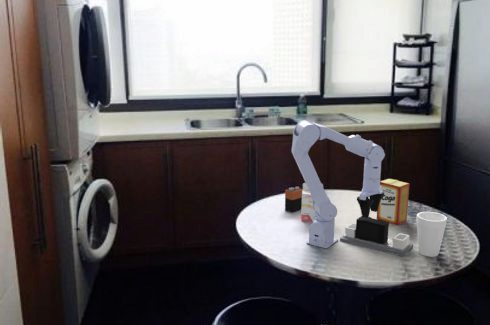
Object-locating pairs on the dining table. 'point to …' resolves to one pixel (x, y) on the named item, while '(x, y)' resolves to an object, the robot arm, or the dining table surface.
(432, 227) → the foam cup
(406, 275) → the dining table surface
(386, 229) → the digital camera
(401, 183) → the baking soda box
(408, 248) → the rail panel
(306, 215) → the ink cartridge box
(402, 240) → the mounted modules
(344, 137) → the robot arm
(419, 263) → the dining table surface
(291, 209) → the battery
